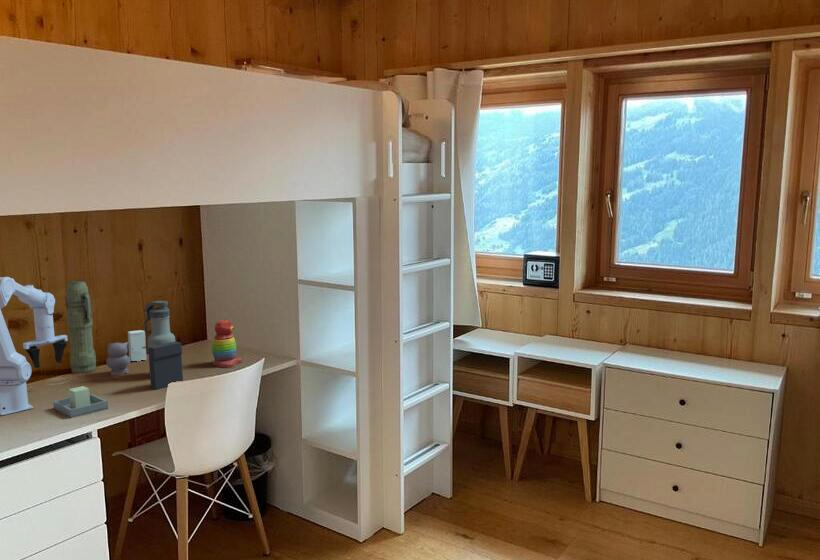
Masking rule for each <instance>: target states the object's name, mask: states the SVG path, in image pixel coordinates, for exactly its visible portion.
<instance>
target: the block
mask: <svg viewBox="0 0 820 560" xmlns="http://www.w3.org/2000/svg"><path fill="white" fill-rule="evenodd" d="M90 393H91V392H90V388H88V387H86V386H83V385H82V386H77V387H73V388H69V389H68V395H69V396H68V397H70V407H71V408H73V409H74V408H78V407H82V406H86V405H90Z"/></svg>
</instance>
